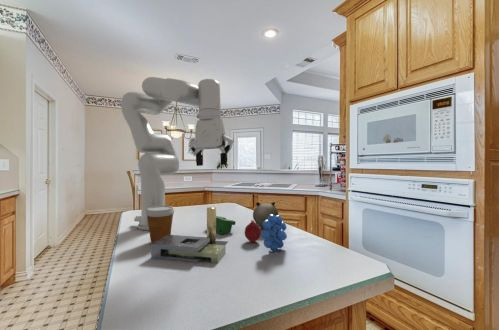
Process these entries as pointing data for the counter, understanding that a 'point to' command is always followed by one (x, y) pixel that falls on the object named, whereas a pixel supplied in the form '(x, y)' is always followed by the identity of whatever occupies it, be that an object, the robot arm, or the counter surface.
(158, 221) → the disposable coffee cup
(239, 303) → the counter surface
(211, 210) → the pin
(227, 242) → the mat
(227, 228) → the green angular piece
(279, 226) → the grapes
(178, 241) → the clevis
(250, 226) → the onion
